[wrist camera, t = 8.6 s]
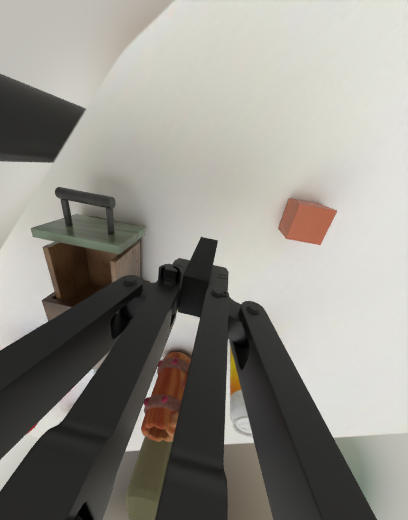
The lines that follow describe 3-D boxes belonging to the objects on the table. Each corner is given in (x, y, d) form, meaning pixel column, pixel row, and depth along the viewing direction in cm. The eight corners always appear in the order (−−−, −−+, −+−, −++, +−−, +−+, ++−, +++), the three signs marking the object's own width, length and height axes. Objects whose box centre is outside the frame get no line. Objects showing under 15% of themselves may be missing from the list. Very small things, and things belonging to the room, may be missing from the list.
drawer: (71, 181, 27) (17, 185, 20) (145, 195, 27) (116, 204, 20) (88, 282, 36) (54, 309, 29) (144, 294, 35) (124, 325, 28)
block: (288, 198, 25) (299, 203, 22) (320, 204, 25) (337, 210, 21) (278, 228, 27) (285, 238, 24) (307, 234, 27) (320, 245, 23)
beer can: (263, 344, 39) (281, 438, 25) (236, 350, 40) (239, 439, 27) (254, 324, 36) (268, 414, 23) (225, 331, 38) (223, 418, 25)
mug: (171, 372, 47) (148, 453, 34) (153, 352, 44) (121, 431, 31) (223, 361, 43) (220, 449, 29) (207, 337, 40) (196, 423, 26)
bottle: (194, 382, 48) (149, 650, 21) (178, 392, 51) (122, 638, 24) (172, 369, 46) (95, 638, 20) (158, 379, 49) (74, 626, 23)
